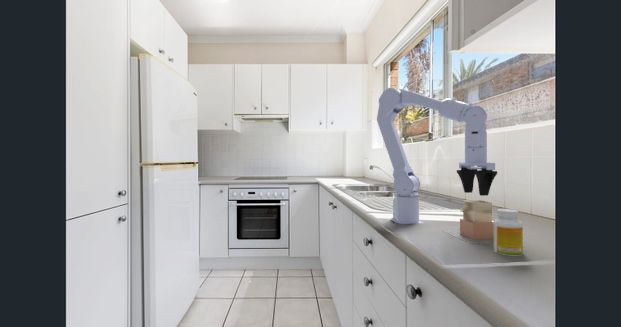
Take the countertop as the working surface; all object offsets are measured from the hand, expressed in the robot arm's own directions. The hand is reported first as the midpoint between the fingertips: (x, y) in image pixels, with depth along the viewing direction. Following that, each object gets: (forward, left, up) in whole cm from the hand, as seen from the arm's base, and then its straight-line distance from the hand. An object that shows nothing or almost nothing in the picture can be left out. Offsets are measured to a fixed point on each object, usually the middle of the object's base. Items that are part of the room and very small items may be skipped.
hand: (475, 193), depth 93 cm
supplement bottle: (+24, -8, -11) cm, 27 cm away
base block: (+10, -6, -10) cm, 15 cm away
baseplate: (+10, -6, -10) cm, 16 cm away
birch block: (+10, -6, -6) cm, 13 cm away
